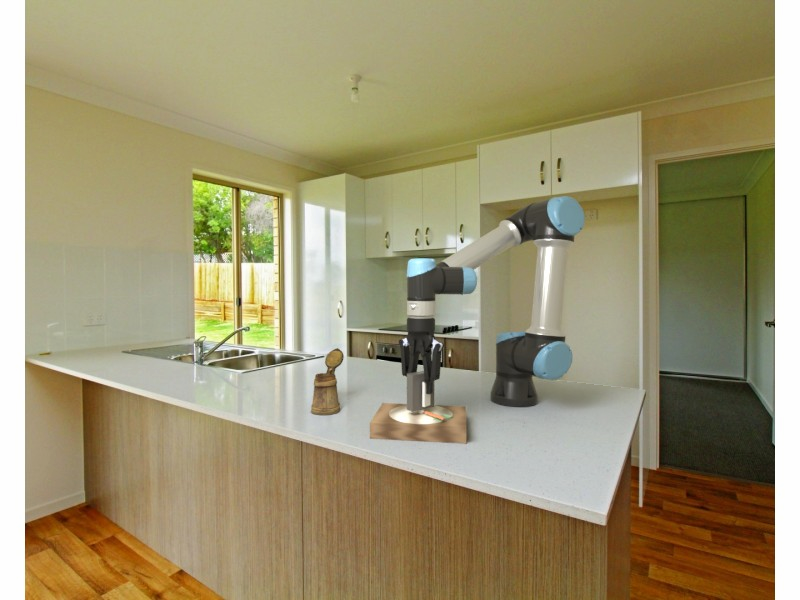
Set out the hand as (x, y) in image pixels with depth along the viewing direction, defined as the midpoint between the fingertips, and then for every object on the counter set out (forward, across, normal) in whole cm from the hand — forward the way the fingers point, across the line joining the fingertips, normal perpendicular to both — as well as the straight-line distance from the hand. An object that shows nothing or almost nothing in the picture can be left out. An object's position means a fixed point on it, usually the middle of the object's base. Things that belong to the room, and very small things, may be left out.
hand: (420, 404), depth 116 cm
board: (+7, 0, 0) cm, 7 cm away
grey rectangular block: (+2, +4, -1) cm, 5 cm away
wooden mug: (+7, -33, -2) cm, 34 cm away
